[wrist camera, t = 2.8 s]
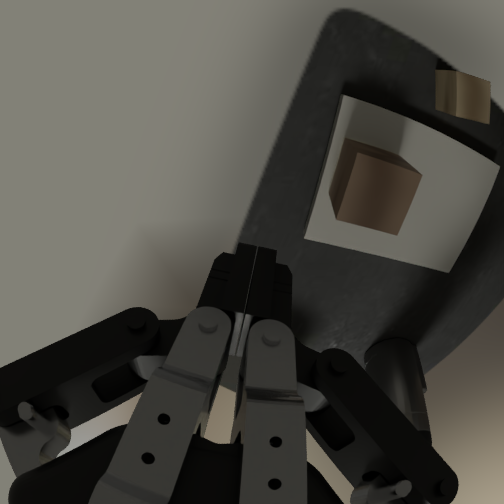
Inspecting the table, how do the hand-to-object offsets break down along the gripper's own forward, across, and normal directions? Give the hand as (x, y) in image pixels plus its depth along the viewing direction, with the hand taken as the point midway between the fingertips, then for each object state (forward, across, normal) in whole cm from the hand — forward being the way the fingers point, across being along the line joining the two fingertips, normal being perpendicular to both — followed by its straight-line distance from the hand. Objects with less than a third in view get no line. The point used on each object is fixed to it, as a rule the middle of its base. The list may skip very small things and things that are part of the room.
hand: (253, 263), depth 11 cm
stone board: (+19, -16, +1) cm, 25 cm away
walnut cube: (+18, -9, 0) cm, 20 cm away
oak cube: (+20, -17, -12) cm, 29 cm away
